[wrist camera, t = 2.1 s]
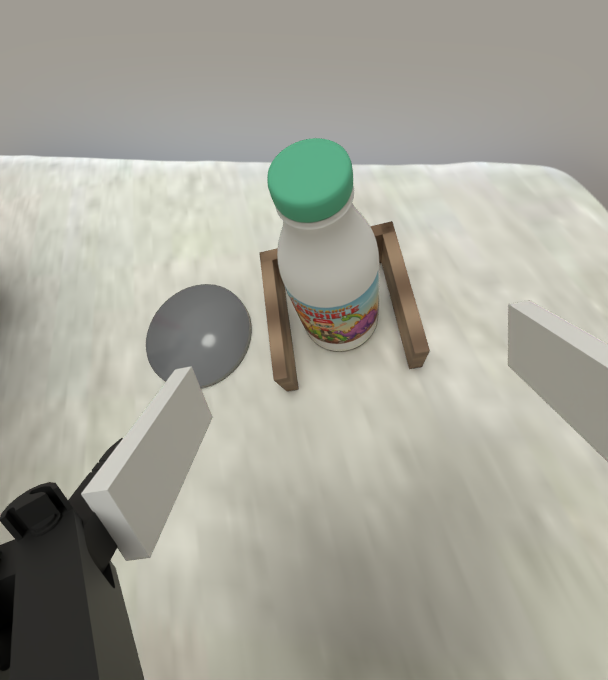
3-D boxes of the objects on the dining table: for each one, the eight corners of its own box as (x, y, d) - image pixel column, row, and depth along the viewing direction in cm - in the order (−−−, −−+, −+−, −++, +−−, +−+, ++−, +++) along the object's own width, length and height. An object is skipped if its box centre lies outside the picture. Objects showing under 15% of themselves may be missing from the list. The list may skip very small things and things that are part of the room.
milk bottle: (303, 289, 39) (239, 127, 20) (374, 281, 37) (375, 100, 19) (305, 355, 36) (233, 239, 17) (381, 350, 35) (391, 217, 16)
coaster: (134, 332, 41) (128, 329, 40) (215, 269, 42) (211, 265, 41) (183, 412, 36) (178, 410, 35) (272, 340, 37) (269, 336, 36)
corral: (272, 277, 40) (259, 252, 35) (389, 250, 38) (392, 221, 33) (286, 391, 35) (273, 380, 30) (421, 366, 33) (429, 350, 29)
